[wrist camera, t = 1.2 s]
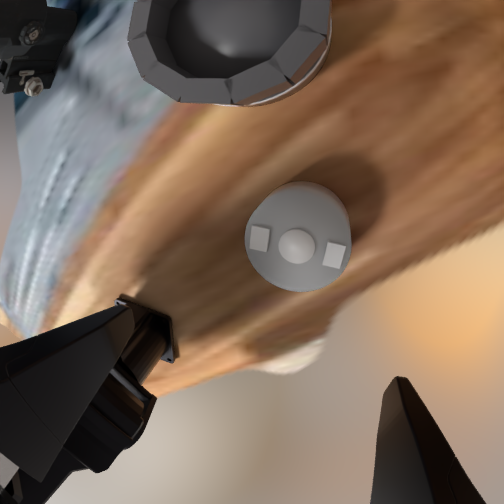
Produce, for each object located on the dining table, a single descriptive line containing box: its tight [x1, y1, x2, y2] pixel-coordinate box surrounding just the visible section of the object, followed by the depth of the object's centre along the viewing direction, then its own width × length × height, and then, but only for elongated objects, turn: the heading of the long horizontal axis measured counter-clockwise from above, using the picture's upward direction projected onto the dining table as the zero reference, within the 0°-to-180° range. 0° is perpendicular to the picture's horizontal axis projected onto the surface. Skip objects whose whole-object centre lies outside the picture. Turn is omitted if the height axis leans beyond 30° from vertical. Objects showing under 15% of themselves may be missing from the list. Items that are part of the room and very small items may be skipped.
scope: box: [0, 0, 77, 96], centre depth 10 cm, size 8×14×10 cm
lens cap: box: [245, 181, 351, 292], centre depth 17 cm, size 6×6×3 cm
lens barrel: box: [127, 0, 332, 107], centre depth 11 cm, size 10×10×5 cm
